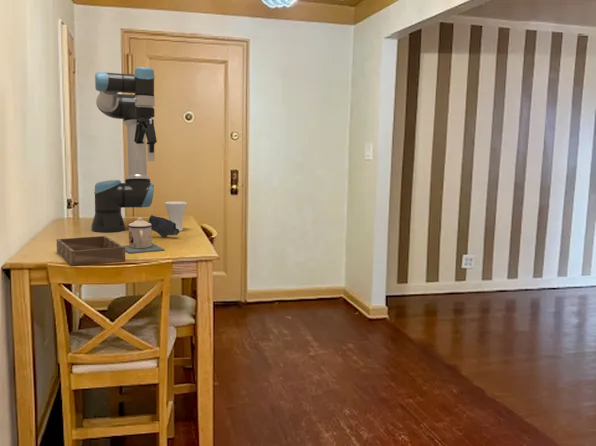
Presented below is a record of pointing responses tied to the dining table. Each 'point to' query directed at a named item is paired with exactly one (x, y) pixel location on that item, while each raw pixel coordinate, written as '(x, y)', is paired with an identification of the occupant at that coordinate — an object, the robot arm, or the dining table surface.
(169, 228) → the stone
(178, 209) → the cup
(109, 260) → the dark brown tray
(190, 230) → the dining table surface
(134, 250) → the mat
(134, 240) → the teacup with lid
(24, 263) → the dining table surface
